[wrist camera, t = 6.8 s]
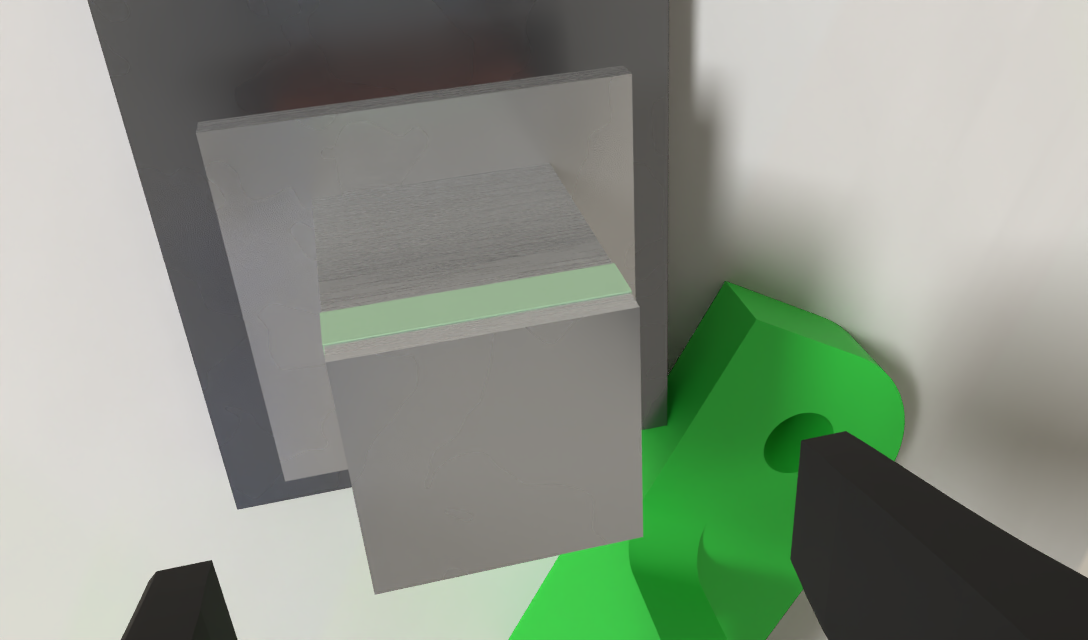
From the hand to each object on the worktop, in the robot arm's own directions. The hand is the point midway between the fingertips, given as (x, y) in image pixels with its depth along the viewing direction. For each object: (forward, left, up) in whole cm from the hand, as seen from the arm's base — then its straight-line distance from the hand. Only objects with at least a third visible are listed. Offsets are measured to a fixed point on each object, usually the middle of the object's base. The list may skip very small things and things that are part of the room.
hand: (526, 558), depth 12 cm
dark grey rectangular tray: (0, 0, -10) cm, 10 cm away
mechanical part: (-10, -6, -11) cm, 16 cm away
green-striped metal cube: (0, 0, -7) cm, 7 cm away
